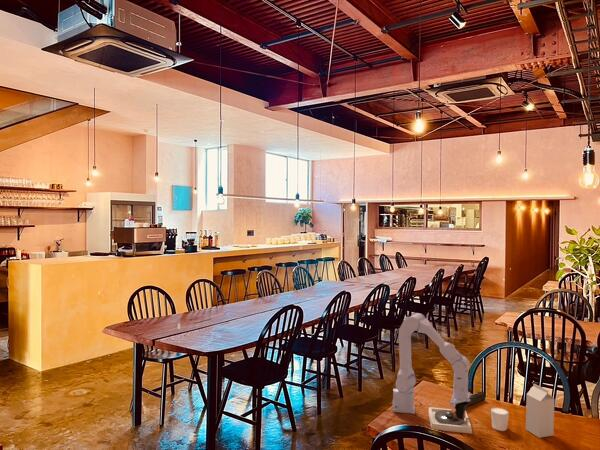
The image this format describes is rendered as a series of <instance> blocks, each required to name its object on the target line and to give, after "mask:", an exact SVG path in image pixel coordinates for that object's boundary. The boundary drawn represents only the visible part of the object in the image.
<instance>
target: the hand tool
mask: <svg viewBox="0 0 600 450" xmlns="http://www.w3.org/2000/svg"><path fill="white" fill-rule="evenodd" d="M469 399H470V401H469V402H468V405H467V407H469V406H471V405H473V404H476V403H478V402H481V401H485V400H486V394H485V393H484V392H483V391H478V392H476V393H474V394H471V395H470V397H469Z"/></svg>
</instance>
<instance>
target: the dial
mask: <svg viewBox="0 0 600 450" xmlns="http://www.w3.org/2000/svg"><path fill="white" fill-rule="evenodd" d="M450 409H451V411H448V410H442V411H438V412H436V413H435V419H436V420H437V421H438V422H440V423H443V424H450V425H461V424H463V423H464V418H465V417H466V413H467V411H466V410H465V412H464V416H463V419H459V418H457V414H456V409H455V408H450Z"/></svg>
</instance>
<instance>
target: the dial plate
mask: <svg viewBox="0 0 600 450" xmlns="http://www.w3.org/2000/svg"><path fill="white" fill-rule="evenodd" d="M451 409H452V408H443V407H441V408H440V407H432V406H429V407H428V411H427V412H428V419H429V424H430V429H431V430H435V431H446V432H456V433H462V434H463V433H464V434H472V435H473V430H472V425H471V422H470V418H469V417H468V414H467V412H466V417H465V418H464V423H463V424H461V425H450V424H443V423H440V422H438V421H437V420H436V419H435V413H436V412H438V411H442V410H448V411H451Z"/></svg>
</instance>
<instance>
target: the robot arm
mask: <svg viewBox="0 0 600 450" xmlns="http://www.w3.org/2000/svg"><path fill="white" fill-rule="evenodd" d="M415 331H417V333H418V334H419V333H422V334H426V336H427V337H429V338H430V339H431V340H432V341H433V343H434V344H436V346H438V347H439V348H438V349H439V352H440V353H441V355H442V357H444V358H445V360H447V361H448V362H449V364H451V368H452V370H453V390H452V391H453V392H452V393H453V394H452V396H451V400H450V401H449V406H450V407H453V408H454V409H456V414H457V418H459V419H463V416H464V412H465V411H466V409H467V408H468V406H469V405H468V402H469V401H470V399H469V397H470V396H471V395H472V394H471V392H470V391H469V368H470V366H471V361H470V360H469V359H468V357H467V356H465V355H463V354H462V353H460V352H459V351H458V350H457V349H456V348H455V347H456V346H455V345H454V344H453V343H452V344H451V343H450V342H446V340H444V339H443V337H442V336H441V335H440V334H439V333H438V331H437V330H436V329H435V328H434V326H432V324H431V322H430V321H429V319H428V318H427V317H426V316H425V315H424V314H422V313H419V312H416V313H413V314H412V315H411V316H408V317H406V318H404V319H403V321H402V323H401V325H400V327H399V329H398V353H399V355H398V356H399V370H398V372H397V375H396V380H395V388H393V389H392V390H393V392H392V396H393V398H392V412H394V413H395V412H396V413H404V414H412V415H415V414H416V409H415V388H414V386H415V385H416V383H417V377H416V375H415V371H414V369H413V367H412V366H413V364H412V333H414V332H415ZM467 405H468V406H467ZM466 407H467V408H466Z"/></svg>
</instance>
